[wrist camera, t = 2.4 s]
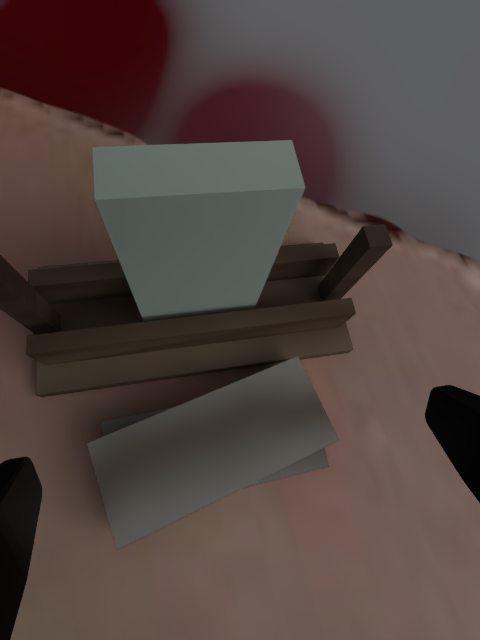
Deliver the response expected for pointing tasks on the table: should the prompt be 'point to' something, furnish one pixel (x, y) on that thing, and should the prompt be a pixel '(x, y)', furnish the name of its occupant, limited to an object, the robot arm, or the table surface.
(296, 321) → the walnut rack
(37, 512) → the robot arm
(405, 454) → the table surface
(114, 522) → the upper offcut
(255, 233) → the sage panel
